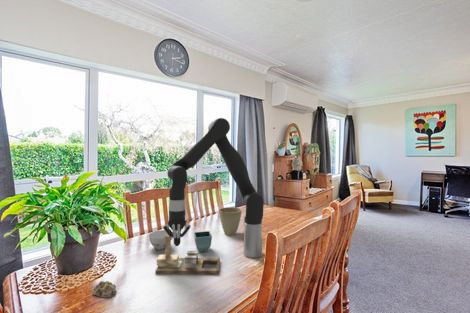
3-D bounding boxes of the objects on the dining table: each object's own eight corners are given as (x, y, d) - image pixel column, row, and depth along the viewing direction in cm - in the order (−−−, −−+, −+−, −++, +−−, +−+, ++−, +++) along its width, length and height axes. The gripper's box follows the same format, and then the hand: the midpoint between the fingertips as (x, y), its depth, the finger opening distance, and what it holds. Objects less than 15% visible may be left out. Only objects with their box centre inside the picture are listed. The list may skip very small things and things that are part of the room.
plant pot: (242, 230, 173) (242, 207, 173) (240, 238, 159) (240, 213, 158) (220, 229, 175) (220, 206, 174) (216, 237, 160) (217, 212, 159)
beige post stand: (178, 260, 122) (178, 233, 121) (176, 265, 117) (176, 237, 116) (159, 260, 122) (159, 233, 121) (156, 265, 117) (156, 237, 116)
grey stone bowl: (157, 254, 133) (157, 239, 133) (144, 248, 141) (144, 233, 141) (180, 246, 145) (180, 232, 144) (167, 240, 153) (167, 227, 152)
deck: (219, 261, 126) (219, 248, 126) (218, 274, 113) (218, 260, 113) (163, 261, 126) (163, 248, 125) (155, 274, 113) (155, 260, 112)
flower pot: (195, 254, 134) (195, 237, 134) (193, 247, 142) (193, 232, 142) (211, 252, 136) (212, 236, 136) (209, 246, 145) (209, 231, 144)
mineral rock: (86, 287, 98) (106, 273, 104) (89, 296, 99) (109, 282, 105) (101, 298, 92) (121, 283, 98) (104, 307, 93) (124, 292, 99)
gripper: (192, 206, 122) (192, 242, 123) (164, 206, 122) (165, 242, 122) (190, 210, 115) (189, 248, 115) (160, 210, 114) (160, 248, 115)
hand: (177, 245), depth 119 cm, fingers closed
